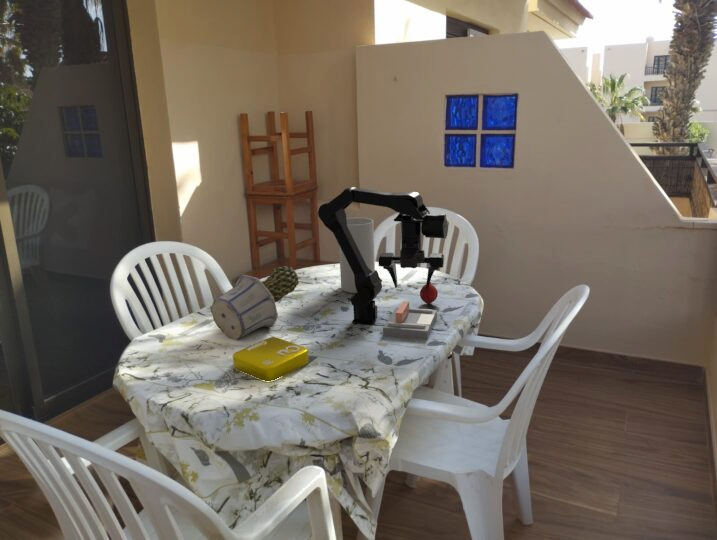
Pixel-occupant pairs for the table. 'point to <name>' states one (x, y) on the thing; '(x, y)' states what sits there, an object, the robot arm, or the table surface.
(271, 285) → the potted plant
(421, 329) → the box
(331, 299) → the table surface
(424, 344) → the table surface
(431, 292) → the pomegranate
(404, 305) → the lever
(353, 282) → the cylinder vase
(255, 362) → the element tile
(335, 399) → the table surface
